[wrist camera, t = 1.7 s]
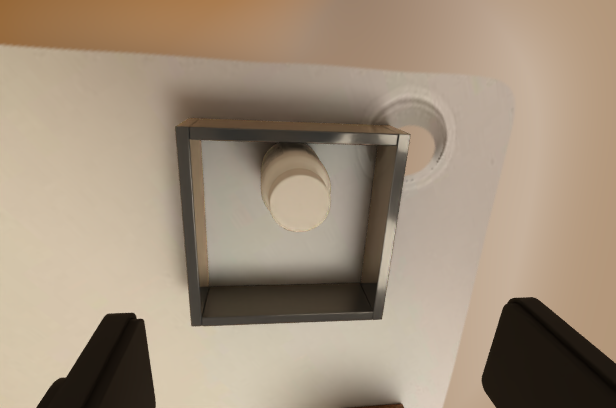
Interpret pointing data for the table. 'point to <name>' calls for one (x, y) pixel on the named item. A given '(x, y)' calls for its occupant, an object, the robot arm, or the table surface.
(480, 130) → the table surface
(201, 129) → the tray
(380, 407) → the display block
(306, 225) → the pill bottle
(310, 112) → the table surface
